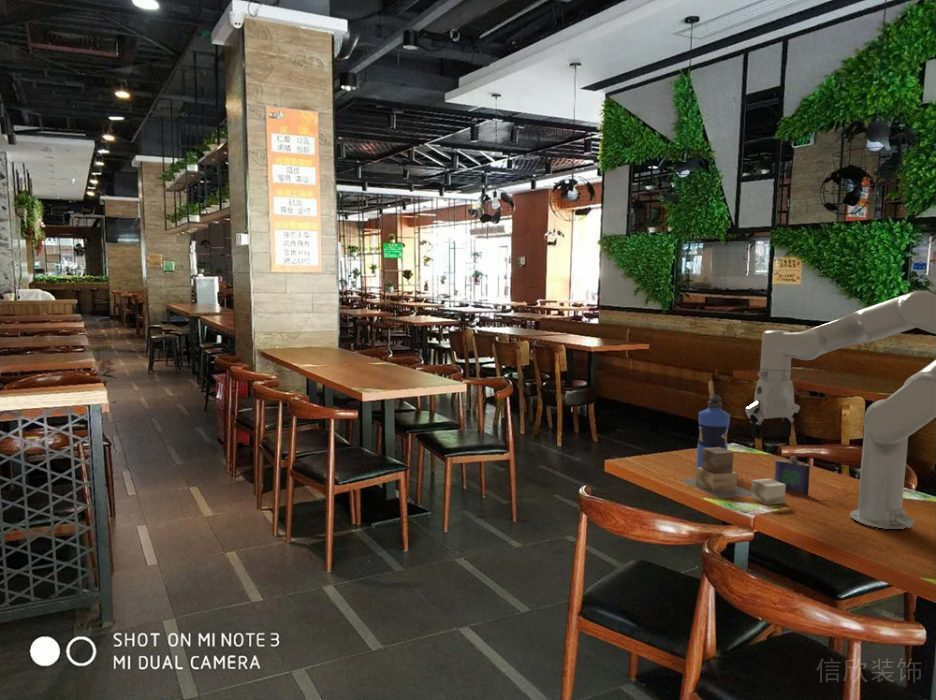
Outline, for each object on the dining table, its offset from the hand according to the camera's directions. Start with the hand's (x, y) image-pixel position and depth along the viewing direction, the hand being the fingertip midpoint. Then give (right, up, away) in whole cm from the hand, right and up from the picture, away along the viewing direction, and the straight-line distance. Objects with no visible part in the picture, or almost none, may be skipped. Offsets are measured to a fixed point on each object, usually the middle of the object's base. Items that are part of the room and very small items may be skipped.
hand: (771, 437), depth 183 cm
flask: (+11, -18, +11) cm, 24 cm away
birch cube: (0, -19, +1) cm, 19 cm away
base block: (-11, -16, +13) cm, 23 cm away
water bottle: (-5, -15, +31) cm, 35 cm away
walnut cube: (-10, -11, +12) cm, 20 cm away
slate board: (-10, -17, +13) cm, 24 cm away
